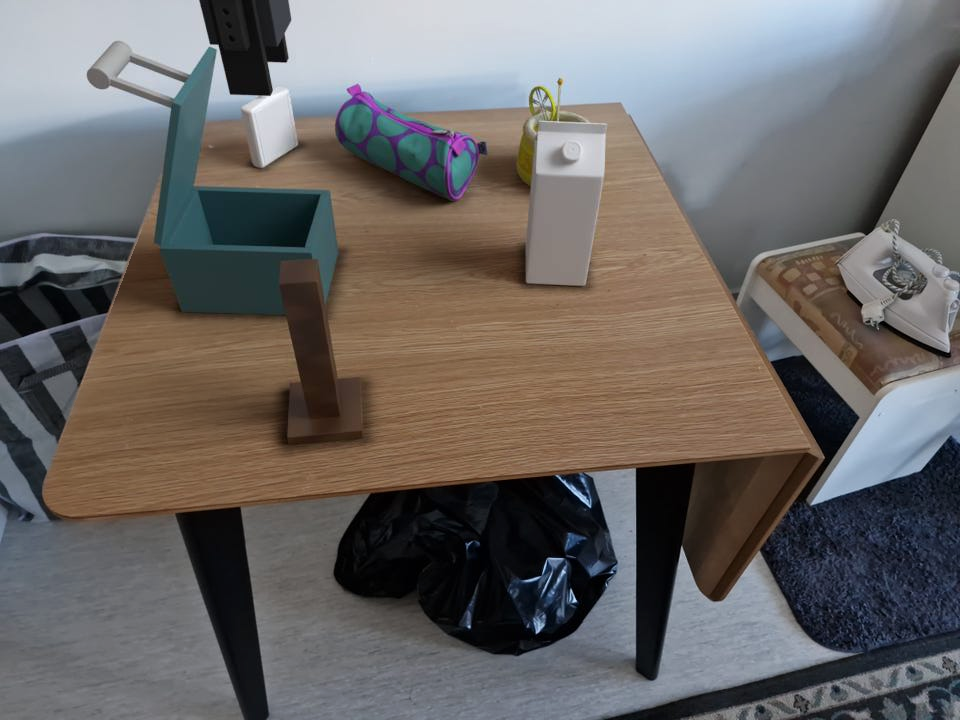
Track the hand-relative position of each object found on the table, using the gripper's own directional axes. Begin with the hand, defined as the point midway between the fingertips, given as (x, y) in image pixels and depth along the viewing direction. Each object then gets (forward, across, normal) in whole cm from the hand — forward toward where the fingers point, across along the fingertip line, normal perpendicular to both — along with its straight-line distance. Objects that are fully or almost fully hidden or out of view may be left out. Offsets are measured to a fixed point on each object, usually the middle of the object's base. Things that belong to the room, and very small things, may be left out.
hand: (260, 75), depth 50 cm
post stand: (+33, -3, -1) cm, 33 cm away
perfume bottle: (+33, +45, +15) cm, 58 cm away
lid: (+16, +17, +14) cm, 27 cm away
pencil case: (+33, +41, -5) cm, 53 cm away
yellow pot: (+33, +42, -26) cm, 60 cm away
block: (-3, 0, 0) cm, 3 cm away
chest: (+33, +17, +10) cm, 38 cm away
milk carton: (+33, +21, -25) cm, 46 cm away
